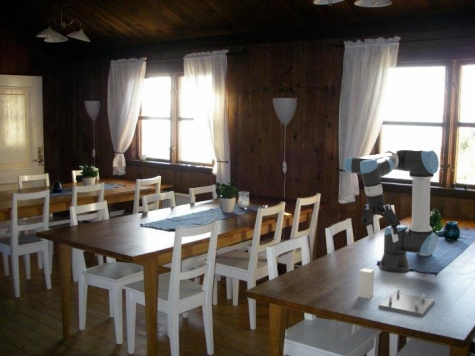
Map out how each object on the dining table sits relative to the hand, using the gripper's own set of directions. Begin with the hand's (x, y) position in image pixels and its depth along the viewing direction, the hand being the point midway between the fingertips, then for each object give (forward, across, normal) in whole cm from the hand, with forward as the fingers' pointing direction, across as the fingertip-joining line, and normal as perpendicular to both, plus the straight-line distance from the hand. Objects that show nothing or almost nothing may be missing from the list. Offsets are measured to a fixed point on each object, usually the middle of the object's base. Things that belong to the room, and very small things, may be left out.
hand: (383, 240), depth 240 cm
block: (+24, -8, -10) cm, 27 cm away
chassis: (+27, +11, -5) cm, 29 cm away
